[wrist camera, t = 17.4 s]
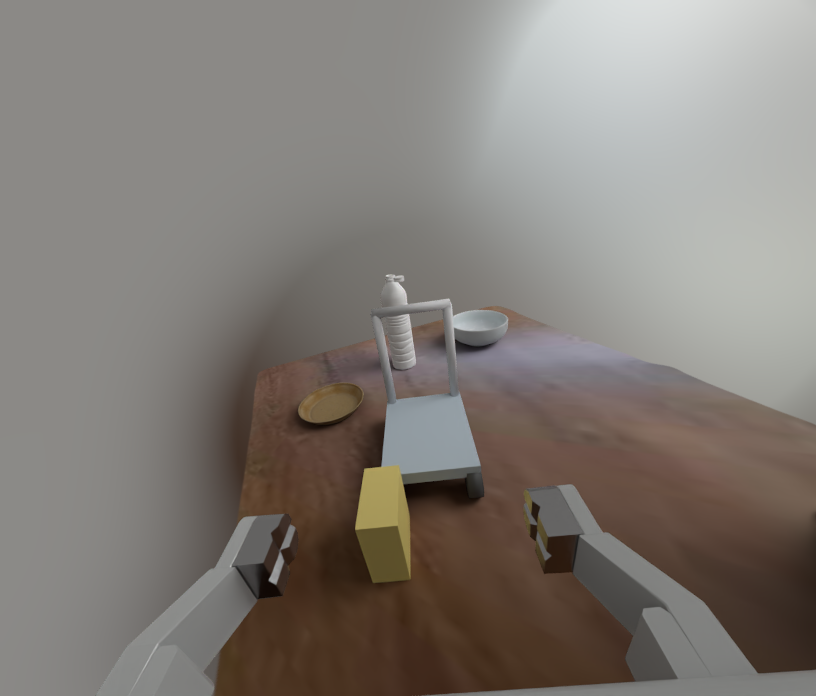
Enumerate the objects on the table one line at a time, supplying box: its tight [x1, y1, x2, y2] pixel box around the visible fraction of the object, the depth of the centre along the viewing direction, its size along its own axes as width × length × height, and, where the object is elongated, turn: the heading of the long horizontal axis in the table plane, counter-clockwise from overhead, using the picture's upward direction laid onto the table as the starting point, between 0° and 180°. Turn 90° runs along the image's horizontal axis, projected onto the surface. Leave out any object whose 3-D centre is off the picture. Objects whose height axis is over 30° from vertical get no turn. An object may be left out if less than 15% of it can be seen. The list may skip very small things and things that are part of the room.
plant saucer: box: [298, 383, 364, 425], centre depth 68 cm, size 15×15×3 cm
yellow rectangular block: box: [355, 465, 411, 583], centre depth 37 cm, size 4×8×10 cm, turn 0°
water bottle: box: [381, 274, 416, 370], centre depth 77 cm, size 9×6×25 cm
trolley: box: [371, 299, 484, 498], centre depth 47 cm, size 14×21×25 cm, turn 1°
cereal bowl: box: [453, 310, 508, 346], centre depth 88 cm, size 17×17×7 cm
